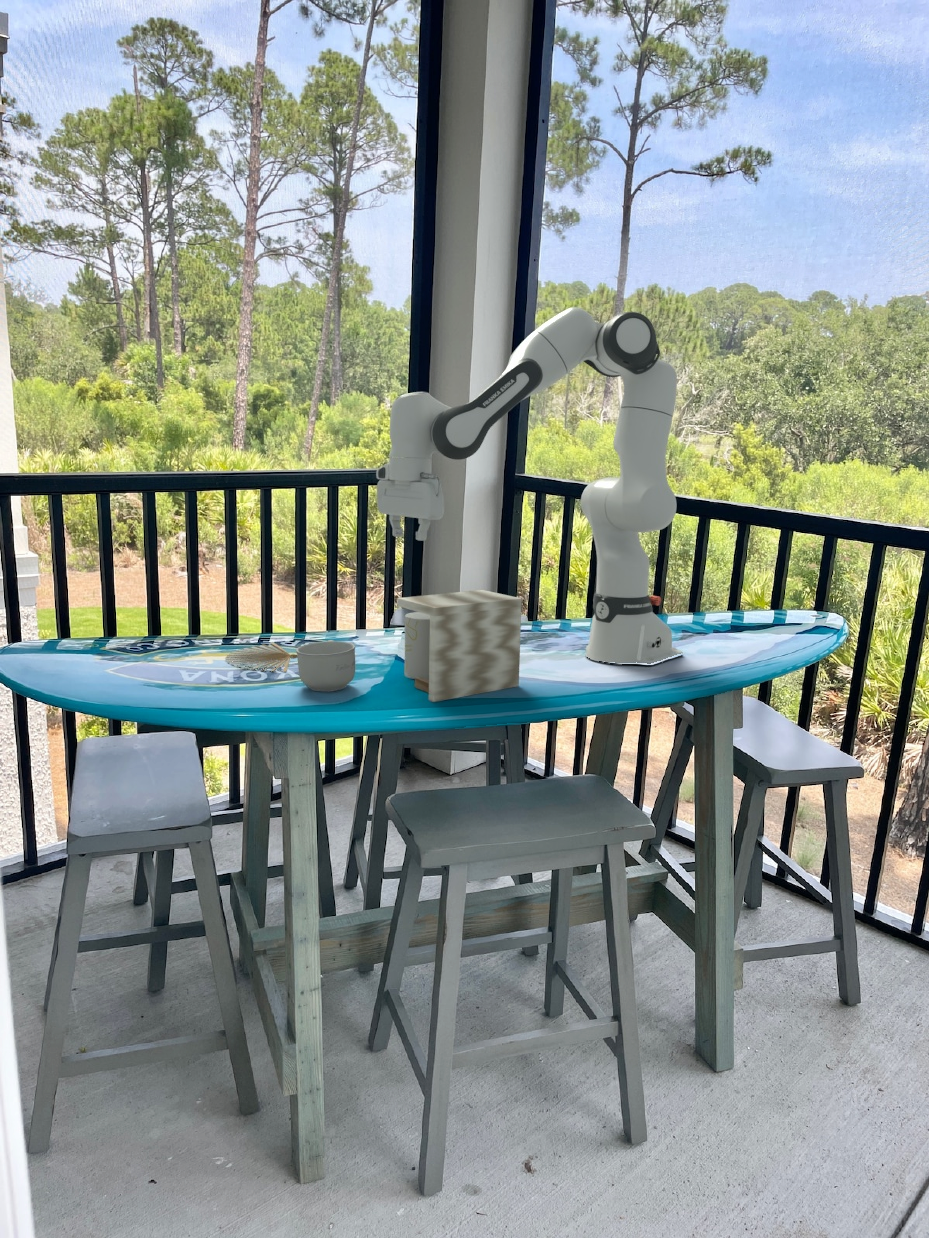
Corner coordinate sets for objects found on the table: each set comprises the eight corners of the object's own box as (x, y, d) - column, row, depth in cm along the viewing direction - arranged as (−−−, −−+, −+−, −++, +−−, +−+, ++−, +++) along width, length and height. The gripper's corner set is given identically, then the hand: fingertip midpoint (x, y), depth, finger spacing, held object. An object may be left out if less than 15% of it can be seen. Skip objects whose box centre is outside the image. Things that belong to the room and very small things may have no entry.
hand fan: (292, 645, 204) (223, 647, 199) (292, 641, 203) (223, 643, 199) (304, 673, 179) (227, 676, 175) (304, 669, 179) (227, 672, 174)
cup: (404, 669, 182) (404, 611, 180) (444, 669, 183) (445, 611, 180) (404, 679, 174) (405, 619, 172) (446, 679, 175) (447, 619, 172)
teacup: (345, 697, 161) (345, 654, 160) (288, 693, 163) (287, 650, 161) (366, 678, 175) (366, 638, 173) (313, 675, 176) (312, 635, 175)
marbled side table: (479, 672, 180) (481, 589, 177) (518, 686, 171) (521, 598, 168) (396, 687, 168) (397, 598, 165) (433, 702, 159) (435, 607, 156)
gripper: (452, 473, 180) (450, 542, 182) (396, 470, 196) (395, 533, 198) (426, 473, 176) (425, 543, 179) (371, 470, 192) (371, 534, 194)
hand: (409, 538), depth 189 cm, fingers open, 7 cm apart
